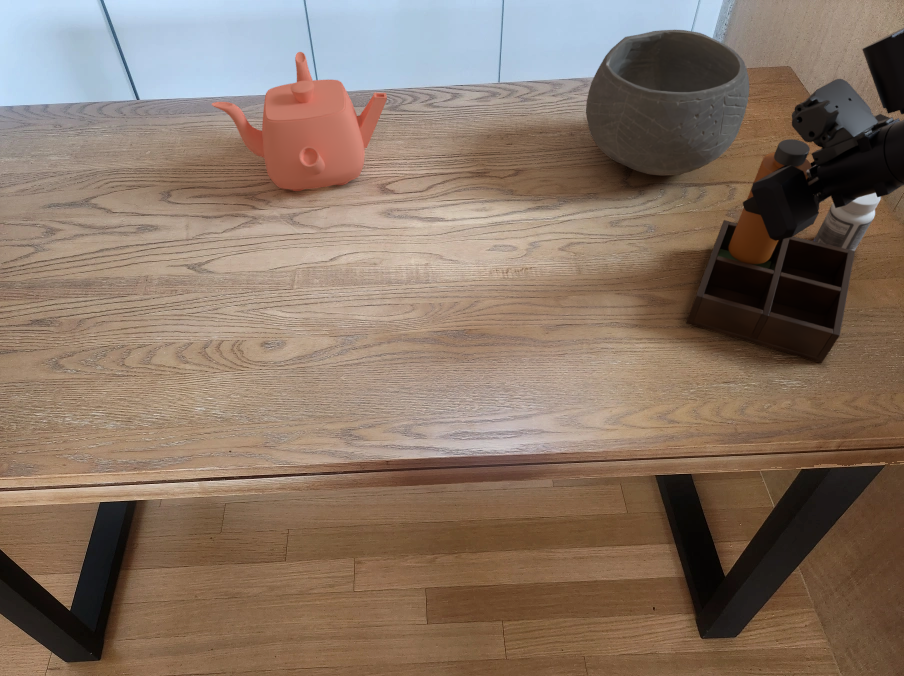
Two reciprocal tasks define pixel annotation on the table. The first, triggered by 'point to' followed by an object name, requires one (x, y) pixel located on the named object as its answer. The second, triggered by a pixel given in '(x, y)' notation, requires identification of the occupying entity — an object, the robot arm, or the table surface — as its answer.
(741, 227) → the amber bottle
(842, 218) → the pill bottle
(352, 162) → the teapot
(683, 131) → the bowl
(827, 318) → the rack
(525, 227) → the table surface
